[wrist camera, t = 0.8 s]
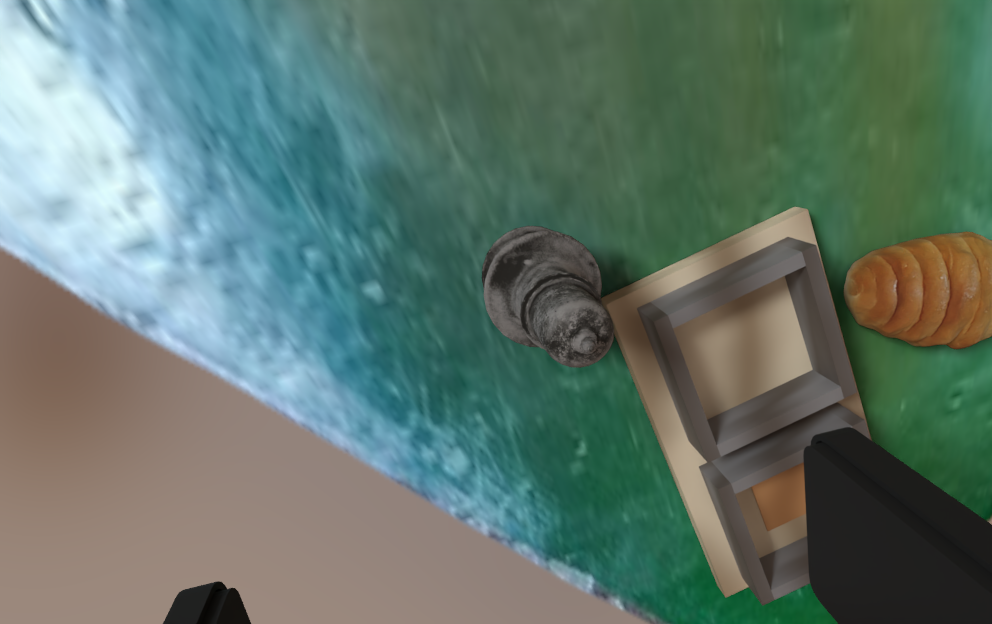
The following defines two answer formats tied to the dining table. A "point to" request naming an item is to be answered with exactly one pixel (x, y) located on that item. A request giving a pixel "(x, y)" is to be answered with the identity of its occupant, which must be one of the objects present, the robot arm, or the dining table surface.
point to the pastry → (925, 290)
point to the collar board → (742, 391)
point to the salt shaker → (547, 295)
